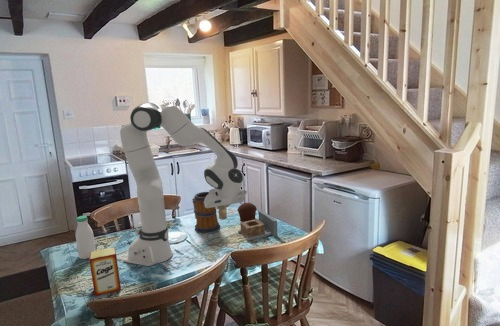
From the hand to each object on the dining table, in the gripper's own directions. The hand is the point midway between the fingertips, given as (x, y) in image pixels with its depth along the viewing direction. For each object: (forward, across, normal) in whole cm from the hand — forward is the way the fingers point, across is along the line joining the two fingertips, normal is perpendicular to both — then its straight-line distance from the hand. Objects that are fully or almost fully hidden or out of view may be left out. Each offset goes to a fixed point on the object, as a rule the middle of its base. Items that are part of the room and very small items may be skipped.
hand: (221, 206), depth 172 cm
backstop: (+12, -18, +13) cm, 26 cm away
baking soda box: (0, +56, +27) cm, 62 cm away
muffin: (+27, -22, -1) cm, 35 cm away
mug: (+29, +3, -2) cm, 29 cm away
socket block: (+12, -16, +13) cm, 24 cm away
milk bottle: (+26, +64, +2) cm, 69 cm away
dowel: (+4, 0, +5) cm, 6 cm away
